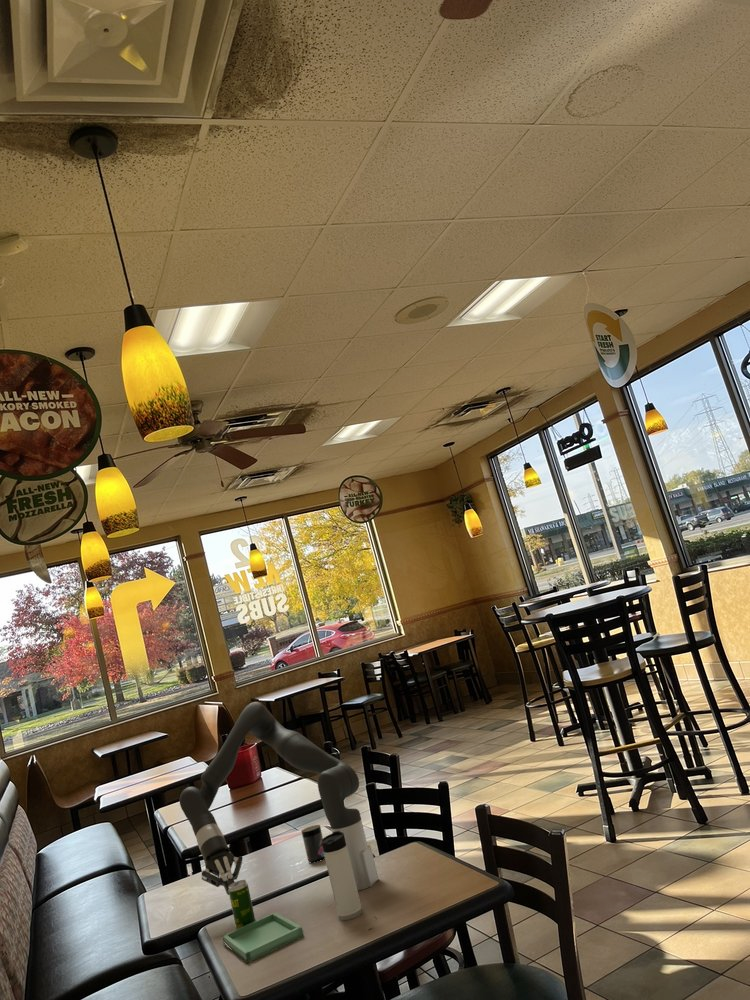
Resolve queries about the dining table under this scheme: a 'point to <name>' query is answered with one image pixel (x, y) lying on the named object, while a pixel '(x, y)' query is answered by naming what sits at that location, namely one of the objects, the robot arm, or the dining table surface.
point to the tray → (262, 936)
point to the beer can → (241, 903)
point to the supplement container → (313, 843)
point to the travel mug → (341, 876)
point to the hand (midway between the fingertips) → (233, 893)
